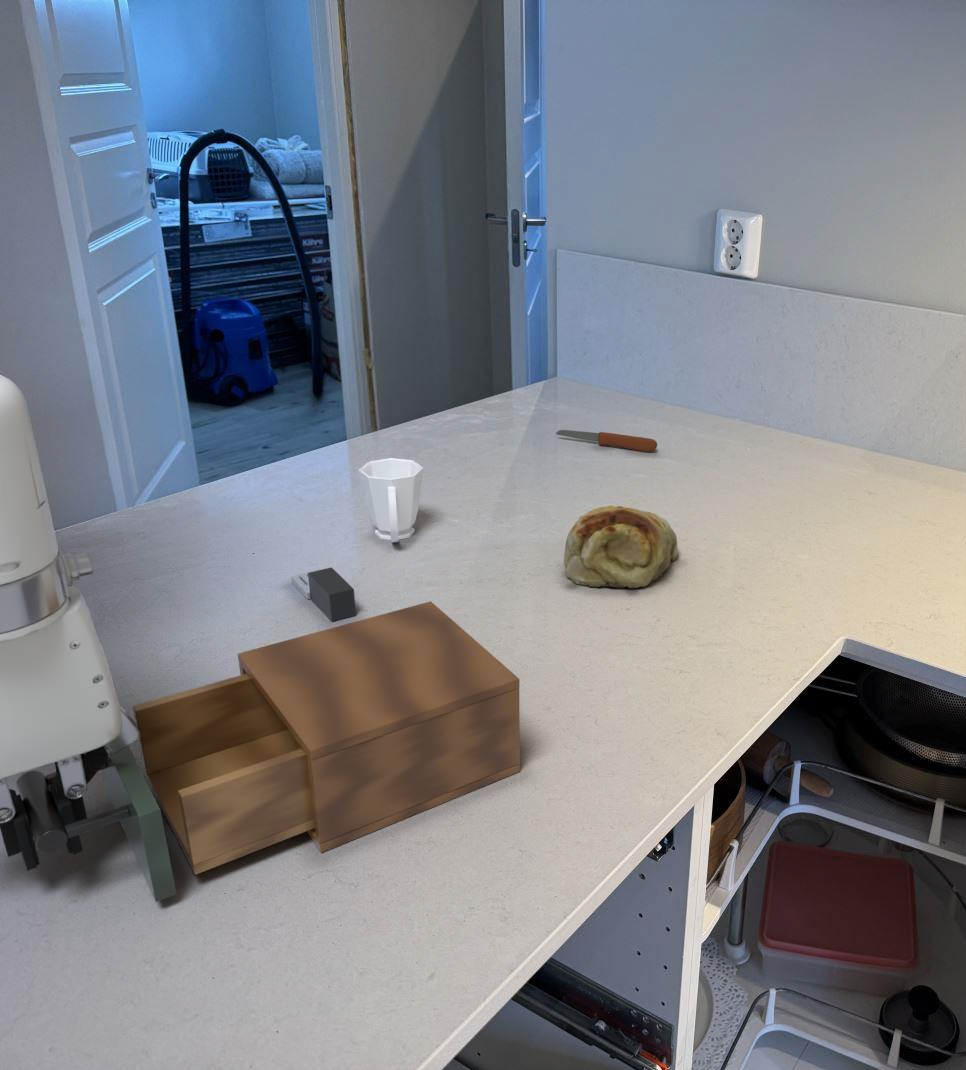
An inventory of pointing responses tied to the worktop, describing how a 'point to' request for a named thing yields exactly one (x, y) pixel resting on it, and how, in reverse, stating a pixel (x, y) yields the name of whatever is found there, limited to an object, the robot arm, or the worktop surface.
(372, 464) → the cup
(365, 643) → the cabinet
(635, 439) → the kitchen knife
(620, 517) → the pastry
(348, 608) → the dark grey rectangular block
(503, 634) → the worktop surface
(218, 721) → the drawer
